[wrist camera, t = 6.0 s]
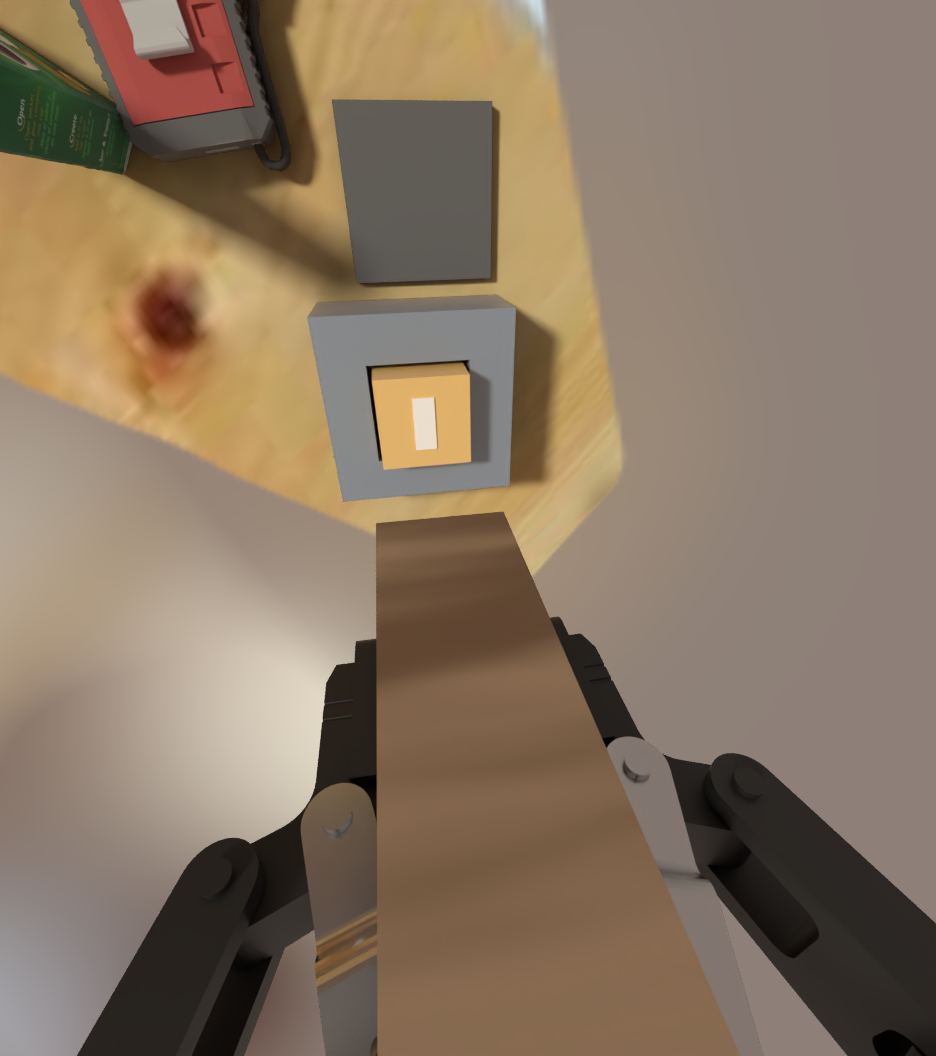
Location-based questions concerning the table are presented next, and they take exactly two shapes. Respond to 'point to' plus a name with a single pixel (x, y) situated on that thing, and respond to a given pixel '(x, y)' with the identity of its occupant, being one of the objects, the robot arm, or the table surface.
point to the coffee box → (56, 114)
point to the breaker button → (423, 413)
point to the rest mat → (417, 187)
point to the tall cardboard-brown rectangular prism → (509, 829)
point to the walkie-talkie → (186, 75)
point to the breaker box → (415, 337)
